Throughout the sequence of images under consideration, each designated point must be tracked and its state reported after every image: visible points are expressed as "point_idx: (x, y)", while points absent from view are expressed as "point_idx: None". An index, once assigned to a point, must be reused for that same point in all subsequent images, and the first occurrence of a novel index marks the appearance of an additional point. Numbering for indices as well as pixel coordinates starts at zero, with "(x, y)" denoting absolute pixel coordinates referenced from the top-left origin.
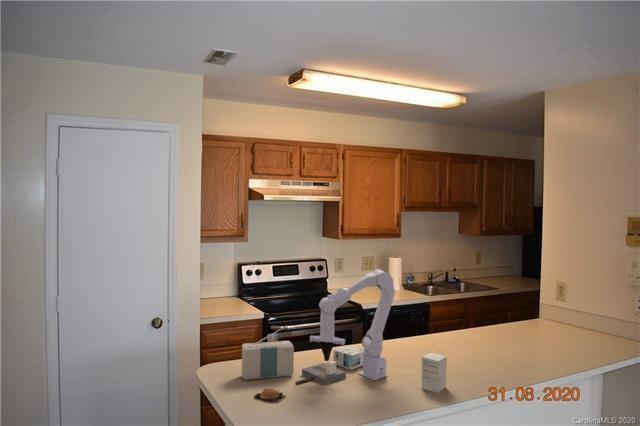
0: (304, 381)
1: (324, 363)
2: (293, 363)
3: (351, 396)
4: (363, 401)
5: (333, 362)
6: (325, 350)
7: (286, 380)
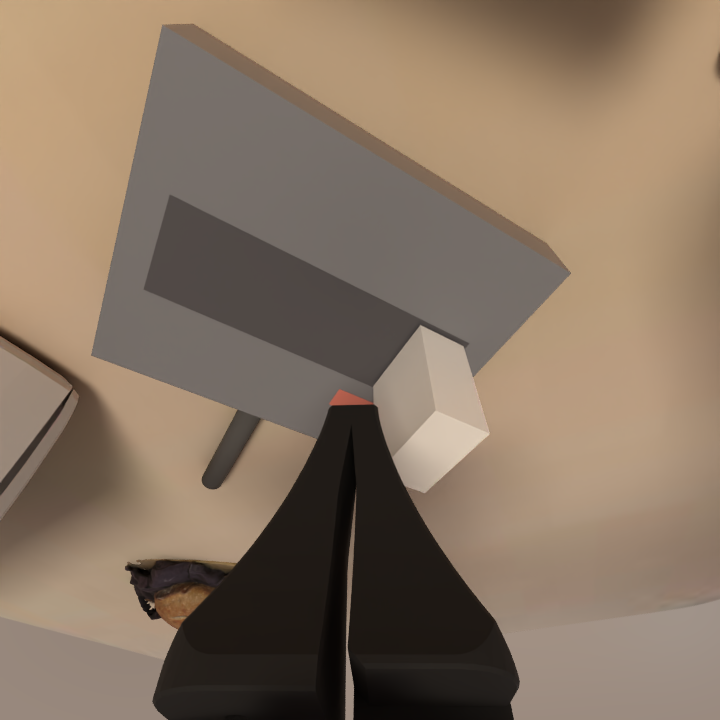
0: (242, 447)
1: (191, 55)
2: (23, 468)
3: (596, 496)
4: (665, 520)
5: (457, 451)
6: (345, 614)
7: (108, 440)
